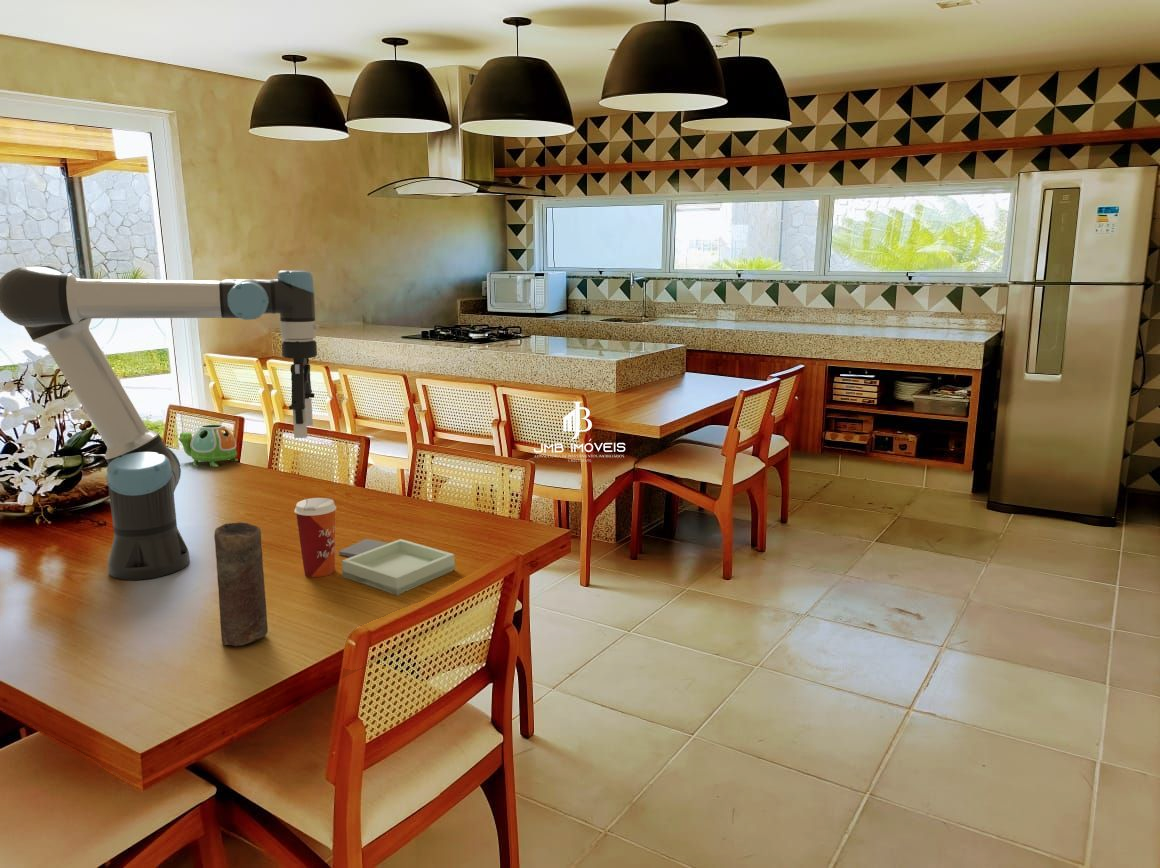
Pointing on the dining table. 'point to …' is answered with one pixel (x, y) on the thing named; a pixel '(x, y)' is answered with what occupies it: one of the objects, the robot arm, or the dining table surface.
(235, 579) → the grey brown tall cylinder
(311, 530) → the coffee cup
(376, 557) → the bin
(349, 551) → the slate coaster
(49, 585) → the dining table surface
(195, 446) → the turtle holder
